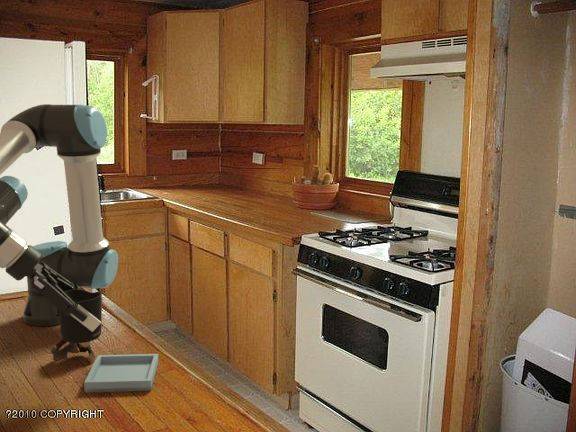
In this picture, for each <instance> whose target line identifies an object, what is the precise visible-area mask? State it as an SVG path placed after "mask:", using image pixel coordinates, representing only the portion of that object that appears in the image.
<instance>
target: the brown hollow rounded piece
mask: <svg viewBox="0 0 576 432" xmlns="http://www.w3.org/2000/svg"><path fill="white" fill-rule="evenodd" d="M67 343H68V344H67ZM63 346H64V347H63ZM86 352H87V353H88V356H87V357H86V360H87V361H88V363H89V365H93V364H94V362H95V360H96V356H95V353H94V352H93V350H92V346H91V341H90V342H85V343H69V342H66V341H64V340H63V339H62V338H61V339H59V340H58V341H57V342H56V343H55V346H53V347H52V349H51V350H50V353H51V354H52V359H53V361H54V362H59V361H62V360H64V361H68V355H69V354H79V353H86ZM68 353H69V354H68Z"/></svg>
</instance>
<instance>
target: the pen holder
mask: <svg viewBox="0 0 576 432" xmlns="http://www.w3.org/2000/svg"><path fill="white" fill-rule="evenodd" d="M64 293H65V294H66V295H67V296H69V297H70V298H71V299H72V300H73V301H74V302H75V303H76V304H77V305H78V304H79V305H80V306H82V307H83V308H84V309H85V310H87V311H88V312H89V313H91V314H92V315H93V316H94V317H96V318H97V319H98V320H99V321H101V324H100V325H99V326H98V327H97V328H96V329H95V330H94V331H93V332H92V331H91V330H89V329H88V328H87V327H85V326H84V325H83V324H82V323H80V322H79V321H78V320H76V319H75V318H74V317H72V316H71V315H69V316H68V317H66V316H64V315H65V314H64V313H63V312H62V311H61V310H59V317H60V324H59V326H60V327H59V328H60V335H61V339H63V340H64V341H66V342H67V343H68V344H69V343H85V342H90V343H91V342H92V341H95V340H97V339H98V338H99V337H101V335H102V321H103V319H102V317H103V316H102V315H103V314H102V311H103V308H102V307H103V306H102V304H103V303H102V299H103V295H102V294H103V293H102V291H95V292H91V291H87V290H85V289H82V288H78V289H73V290H68V291H65V292H64ZM67 307H68V306H67Z"/></svg>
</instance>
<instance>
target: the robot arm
mask: <svg viewBox="0 0 576 432" xmlns="http://www.w3.org/2000/svg"><path fill="white" fill-rule="evenodd" d="M1 126H2V127H1V128H0V176H1V175H2V174H3V173H4V172H5V171H6V170H8V168H10V167H11V166H12V165H13V164H14V163H15V161H17V160H18V159H19V158H20V157H21V156H22V155H23V154H28V153H30V152H32V151H33V150H34V149H36V148H39V147H53V148H56V152H57V153H56V154H57V156H58V157H59V158H60V159H61V160H63V165H64V173H65V184H66V193H67V194H66V195H67V201H68V211H69V220H70V229H71V237H72V238H71V239H72V240H71V241H70V242H69V243H67V242H66V241H63V240H56V241H49V242H42V243H39V244H35V245H33V246H32V245H27V244H28V241H26V240H25V239H24V238H23V237H22V236H20V235H19V234H17V232H15V231H14V230H12V228H10V227H9V226H7V224H8V223H9V222H10V220H11V219H12V218H13V217H14V216H15V215H16V213H17V212H18V211H19V210H20V209H22V207H23V205H24V203H25V202H26V201H27V199H28V196H29V194H28V193H29V192H28V189H27V186H26V185H25V183H24V182H23V181H21V180H20V179H19V178H17V177H15V176H13V175H3V176H1V177H0V268H1V269H5V272H6V273H7V275H9V276H11V278H13V279H14V280H15V281H17V282H19V281H21V280H23V279H24V278H25V277H26V282H27V295H28V296H27V299H26V302H25V306H24V309H23V313H22V316H23V317H22V318H23V322H24V323H25V324H27V325H30V326H34V327H48V326H49V327H51V326H57V325H60V317H59V310H61V311H62V312H63V313H64V314H65V315H64V316H66V317H68V316H69V315H71V316H72V317H74V318H75V319H76V320H78V321H79V322H80V323H82V324H83V325H84V326H85V327H87V328H88V329H89V330H91V331H92V332H93V331H94V330H95V329H96V328H97V327H98V326H99V325H100V324H101V321H99V320H98V319H97V318H96V317H94V316H93V315H92V314H91V313H89V312H88V311H87V310H85V309H84V308H83V307H82V306H80V305H79V304H78V305H77V304H76V303H75V302H74V301H73V300H72V299H71V298H70V297H69V296H67V295H66V294H65V293H64V292H65V291H68V290H73V289H80V288H81V289H82V288H83V289H84V288H87V289H92V290H93V289H94V290H95V289H106V288H108V287H109V286H110V285H111V284H112V283H113V281H114V279H115V277H116V274H117V271H118V266H119V256H118V253H117V251H116V250H115V249H113V248H112V249H110V241H109V240H108V239H106V238H105V237H104V233H103V222H102V213H101V212H102V211H101V200H100V191H99V180H98V179H99V178H98V168H97V158H98V156H100V155H101V152H102V151H101V149H102V148H104V146H106V144H107V141H108V139H107V137H108V127H107V123H106V119H105V118H104V115H103V113H102V112H101V111H100V110H99V109H98V108H97V107H96V106H93V105H87V104H47V103H46V104H45V103H44V104H38V105H35V106H32V107H30V108H29V107H28V108H27V109H25V110H23V111H21V112H19V113H18V114H15V116H12V117H11V118H9V120H8V121H5V123H4V124H3V125H1ZM67 306H68V307H67ZM101 325H102V324H101Z"/></svg>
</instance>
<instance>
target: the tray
mask: <svg viewBox="0 0 576 432" xmlns="http://www.w3.org/2000/svg"><path fill="white" fill-rule="evenodd" d="M158 366H159V353H138V354H137V353H136V354H130V353H129V354H98V355H97V357H95V360H94V362H93V363H92V366H91V369H90V370H89V371H88V374H87V376H86V377H85V380H84V383H83V384H84V386H83V387H84V393H109V392H111V393H112V392H113V393H114V392H115V393H116V392H120V393H121V392H143V391H144V392H151V391H152V388H153V384H154V381H155V377H156V374H157V370H158Z"/></svg>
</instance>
